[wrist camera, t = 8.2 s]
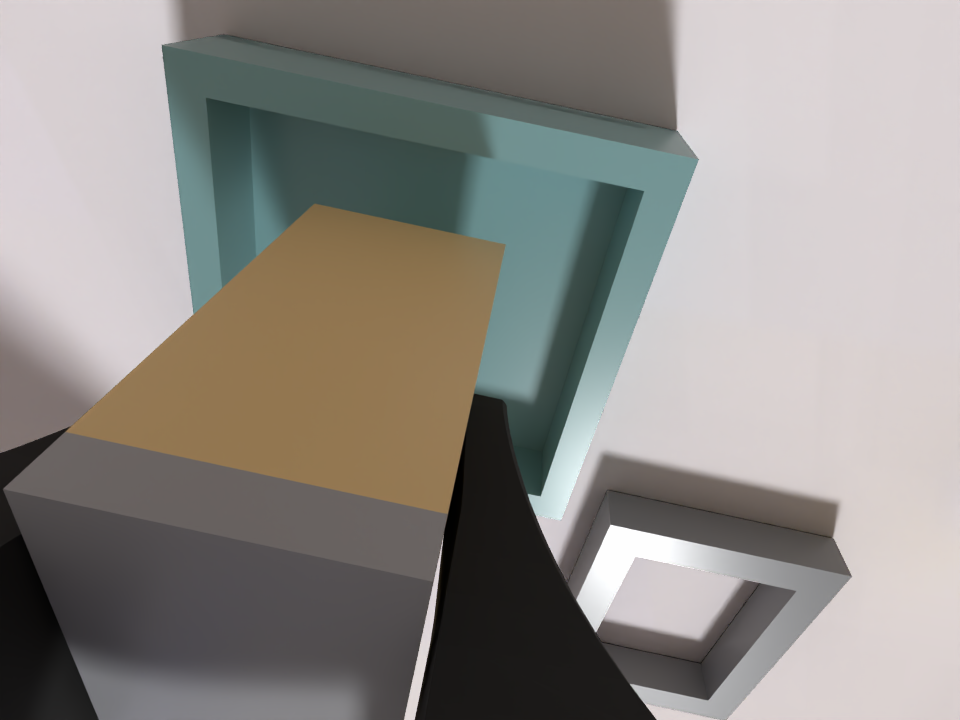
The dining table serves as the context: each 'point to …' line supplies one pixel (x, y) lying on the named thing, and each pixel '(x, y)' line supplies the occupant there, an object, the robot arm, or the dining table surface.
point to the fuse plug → (271, 483)
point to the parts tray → (441, 210)
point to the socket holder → (716, 549)
